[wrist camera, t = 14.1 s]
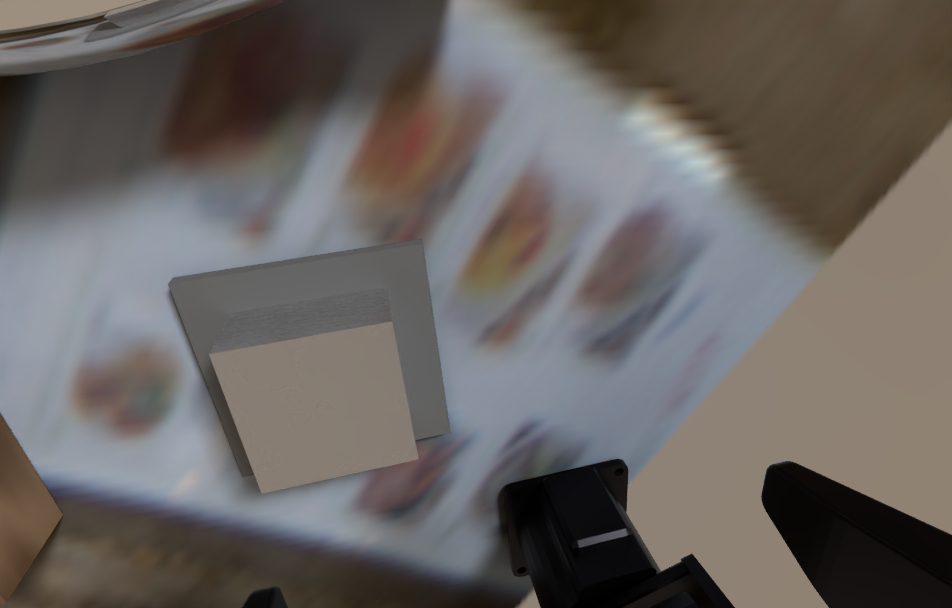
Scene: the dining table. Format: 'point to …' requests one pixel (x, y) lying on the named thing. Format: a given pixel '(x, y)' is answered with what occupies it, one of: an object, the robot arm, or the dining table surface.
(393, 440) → the square block
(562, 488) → the robot arm
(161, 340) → the dining table surface
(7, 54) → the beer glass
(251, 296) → the mat
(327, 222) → the dining table surface
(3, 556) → the plane body
